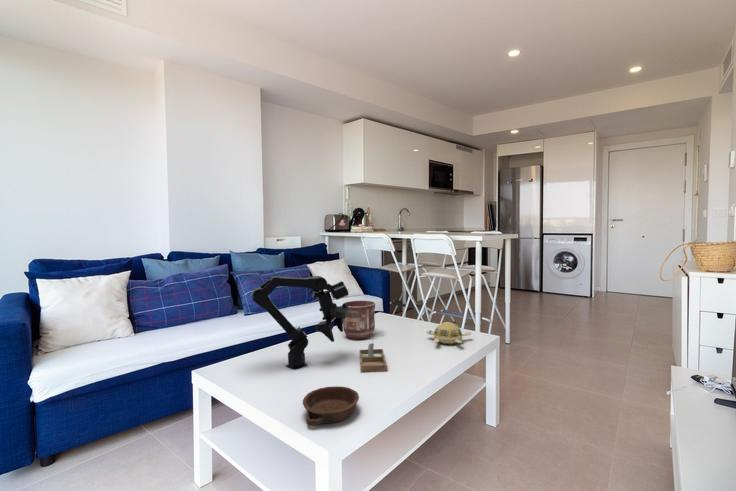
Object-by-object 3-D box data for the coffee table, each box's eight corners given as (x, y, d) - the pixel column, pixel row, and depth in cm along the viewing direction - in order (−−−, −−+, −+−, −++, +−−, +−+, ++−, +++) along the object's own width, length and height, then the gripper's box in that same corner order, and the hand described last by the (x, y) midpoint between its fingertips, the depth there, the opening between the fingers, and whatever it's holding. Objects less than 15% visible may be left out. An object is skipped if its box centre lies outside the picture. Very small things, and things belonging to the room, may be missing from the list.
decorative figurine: (458, 353, 168) (458, 331, 167) (415, 346, 179) (415, 326, 178) (474, 337, 190) (474, 318, 190) (435, 332, 201) (435, 314, 201)
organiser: (387, 371, 148) (387, 365, 148) (360, 372, 148) (360, 366, 148) (382, 354, 169) (382, 348, 169) (359, 355, 168) (359, 349, 168)
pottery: (375, 341, 188) (375, 306, 188) (341, 341, 189) (340, 306, 188) (375, 332, 206) (375, 300, 205) (344, 332, 206) (343, 300, 206)
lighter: (368, 355, 166) (367, 337, 165) (371, 354, 166) (371, 337, 166) (370, 360, 159) (369, 342, 158) (374, 360, 159) (373, 342, 159)
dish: (286, 422, 111) (285, 406, 111) (330, 393, 130) (329, 379, 130) (333, 437, 102) (332, 420, 102) (373, 404, 121) (372, 389, 121)
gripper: (333, 309, 149) (345, 344, 151) (350, 293, 165) (361, 324, 168) (310, 313, 153) (322, 347, 155) (329, 297, 170) (340, 328, 172)
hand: (337, 336), depth 162 cm, fingers open, 9 cm apart
